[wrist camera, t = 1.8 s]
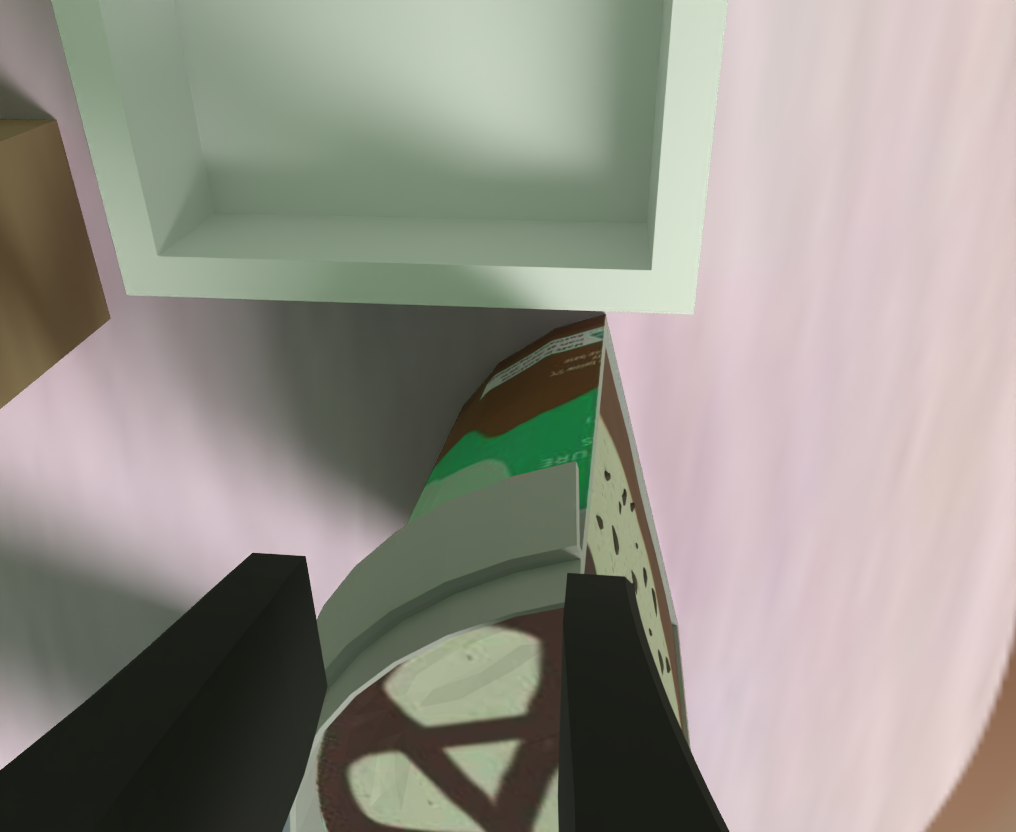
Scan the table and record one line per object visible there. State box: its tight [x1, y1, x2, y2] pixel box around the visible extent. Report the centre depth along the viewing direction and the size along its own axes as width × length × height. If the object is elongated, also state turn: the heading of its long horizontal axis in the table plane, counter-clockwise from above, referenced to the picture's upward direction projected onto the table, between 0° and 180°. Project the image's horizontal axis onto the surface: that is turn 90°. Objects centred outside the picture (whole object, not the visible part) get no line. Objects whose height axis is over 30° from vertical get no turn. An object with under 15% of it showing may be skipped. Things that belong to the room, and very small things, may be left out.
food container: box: [290, 314, 691, 832], centre depth 17 cm, size 12×6×10 cm, turn 15°
